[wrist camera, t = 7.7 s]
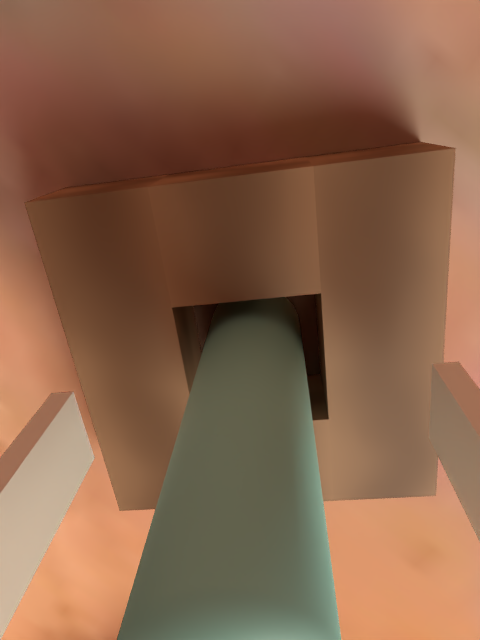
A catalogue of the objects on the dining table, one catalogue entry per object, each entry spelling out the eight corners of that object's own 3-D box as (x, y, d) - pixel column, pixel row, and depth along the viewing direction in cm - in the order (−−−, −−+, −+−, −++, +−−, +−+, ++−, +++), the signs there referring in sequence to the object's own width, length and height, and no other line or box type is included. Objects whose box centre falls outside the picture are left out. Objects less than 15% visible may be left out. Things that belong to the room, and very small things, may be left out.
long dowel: (218, 369, 22) (141, 729, 9) (205, 290, 20) (90, 591, 7) (303, 363, 21) (348, 730, 9) (296, 282, 20) (340, 585, 7)
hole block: (139, 458, 24) (119, 510, 21) (66, 187, 19) (24, 202, 16) (412, 442, 23) (435, 495, 20) (421, 142, 17) (455, 148, 14)
